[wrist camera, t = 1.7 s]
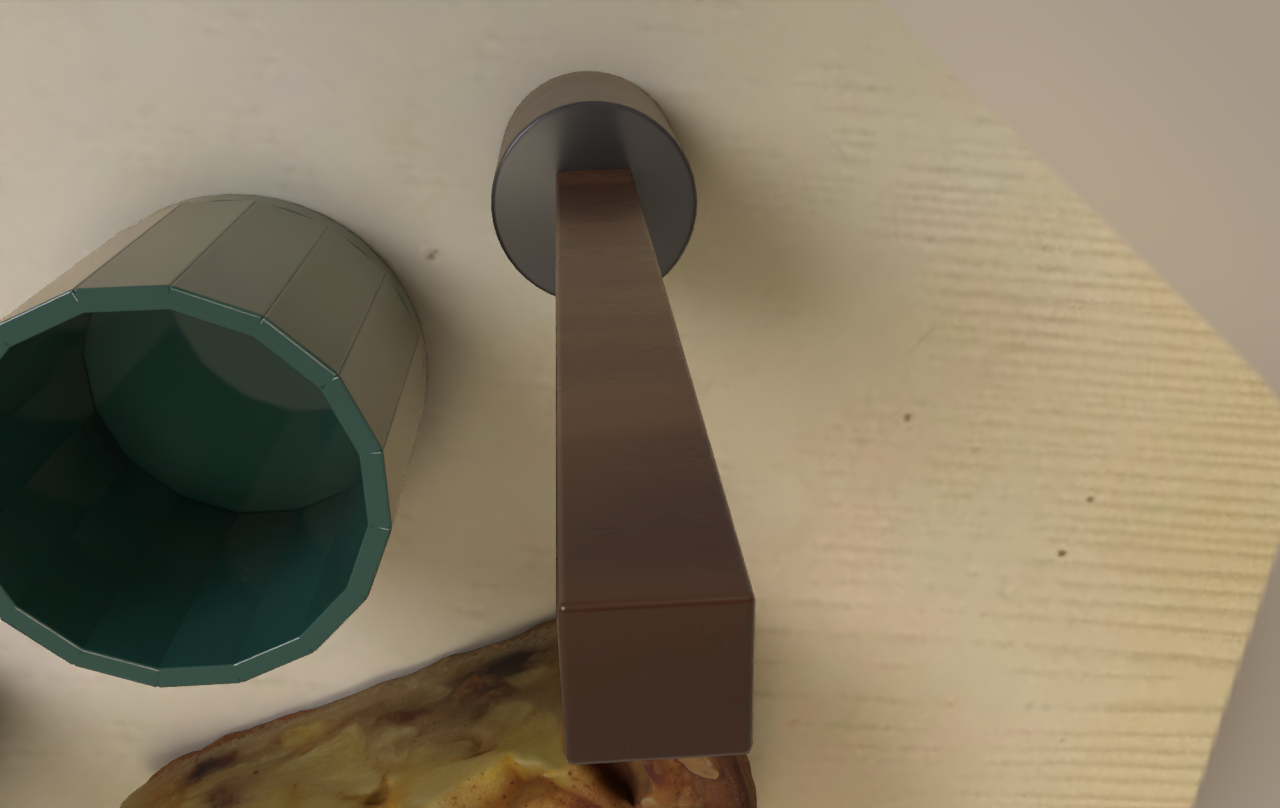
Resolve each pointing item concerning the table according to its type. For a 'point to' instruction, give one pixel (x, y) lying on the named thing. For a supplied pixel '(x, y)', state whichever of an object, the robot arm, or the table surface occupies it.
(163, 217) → the cup
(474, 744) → the pie slice
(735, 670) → the brown post with base
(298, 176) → the table surface
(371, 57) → the table surface
